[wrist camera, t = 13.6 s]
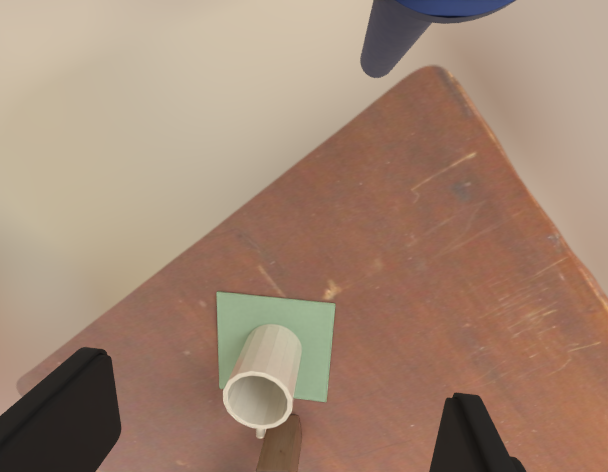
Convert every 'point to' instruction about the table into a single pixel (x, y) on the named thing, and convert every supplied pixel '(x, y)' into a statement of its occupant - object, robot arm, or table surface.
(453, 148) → the table surface
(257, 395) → the mug
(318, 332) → the mat
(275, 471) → the wooden block
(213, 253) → the table surface
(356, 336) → the table surface
